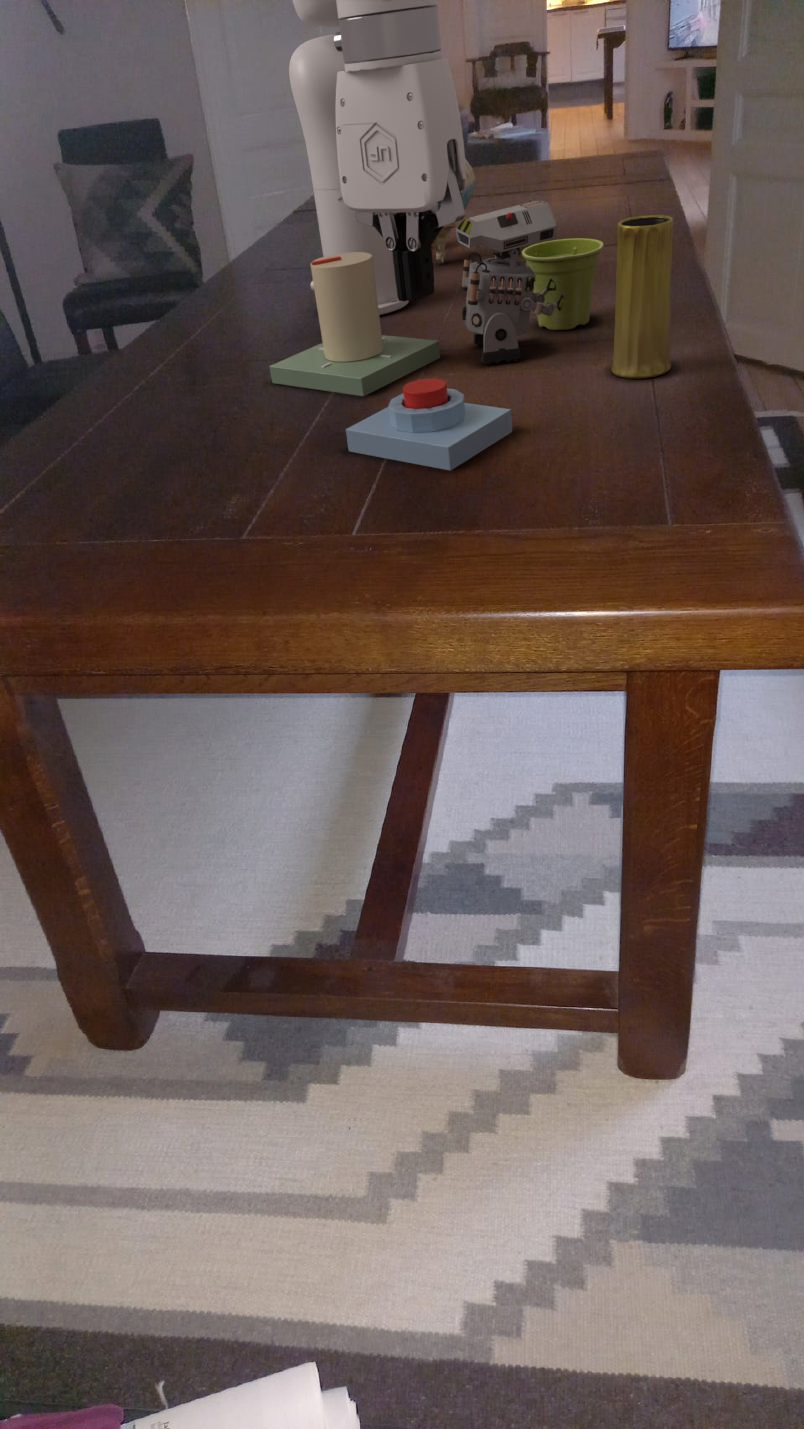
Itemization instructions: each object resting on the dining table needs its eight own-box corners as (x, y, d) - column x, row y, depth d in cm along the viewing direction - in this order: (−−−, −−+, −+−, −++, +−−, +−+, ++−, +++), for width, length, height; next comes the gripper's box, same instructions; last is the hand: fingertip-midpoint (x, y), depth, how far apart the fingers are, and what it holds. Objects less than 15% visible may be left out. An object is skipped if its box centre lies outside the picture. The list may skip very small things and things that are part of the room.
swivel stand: (272, 383, 114) (268, 364, 112) (350, 348, 122) (347, 330, 121) (363, 397, 106) (361, 377, 105) (440, 358, 114) (438, 339, 113)
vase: (674, 360, 104) (681, 212, 96) (667, 379, 99) (674, 225, 91) (616, 361, 106) (618, 216, 98) (606, 380, 101) (607, 229, 93)
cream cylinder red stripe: (371, 340, 116) (359, 246, 110) (392, 353, 111) (380, 255, 105) (317, 352, 115) (302, 257, 109) (335, 366, 109) (320, 267, 103)
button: (396, 409, 91) (394, 390, 90) (422, 395, 93) (420, 376, 92) (430, 414, 88) (429, 394, 87) (456, 399, 91) (455, 380, 90)
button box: (348, 451, 93) (342, 410, 91) (412, 416, 99) (408, 376, 97) (450, 471, 87) (446, 427, 84) (512, 432, 92) (510, 389, 90)
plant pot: (601, 332, 115) (601, 253, 110) (521, 337, 117) (517, 259, 112) (604, 311, 122) (604, 235, 117) (528, 316, 125) (526, 242, 120)
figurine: (571, 355, 110) (570, 206, 101) (469, 368, 110) (459, 221, 101) (556, 333, 117) (554, 193, 108) (460, 346, 117) (450, 207, 108)
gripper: (287, 57, 76) (324, 304, 87) (440, 37, 68) (461, 314, 79) (349, 47, 81) (377, 284, 91) (500, 28, 73) (512, 290, 83)
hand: (416, 297), depth 85 cm, fingers closed
